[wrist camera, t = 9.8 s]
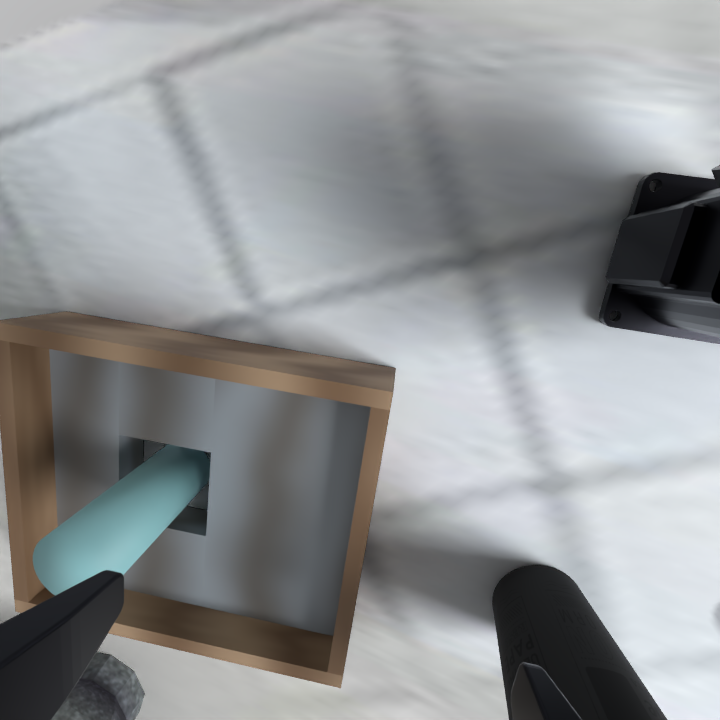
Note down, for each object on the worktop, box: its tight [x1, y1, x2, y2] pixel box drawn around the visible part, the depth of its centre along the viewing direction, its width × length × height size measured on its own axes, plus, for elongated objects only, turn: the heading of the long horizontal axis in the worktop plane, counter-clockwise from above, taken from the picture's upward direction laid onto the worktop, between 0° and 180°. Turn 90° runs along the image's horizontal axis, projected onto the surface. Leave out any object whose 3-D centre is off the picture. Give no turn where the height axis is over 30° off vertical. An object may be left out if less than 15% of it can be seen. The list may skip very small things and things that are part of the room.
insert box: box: [0, 311, 396, 688], centre depth 21 cm, size 18×16×4 cm
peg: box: [33, 444, 210, 595], centre depth 19 cm, size 3×3×8 cm
